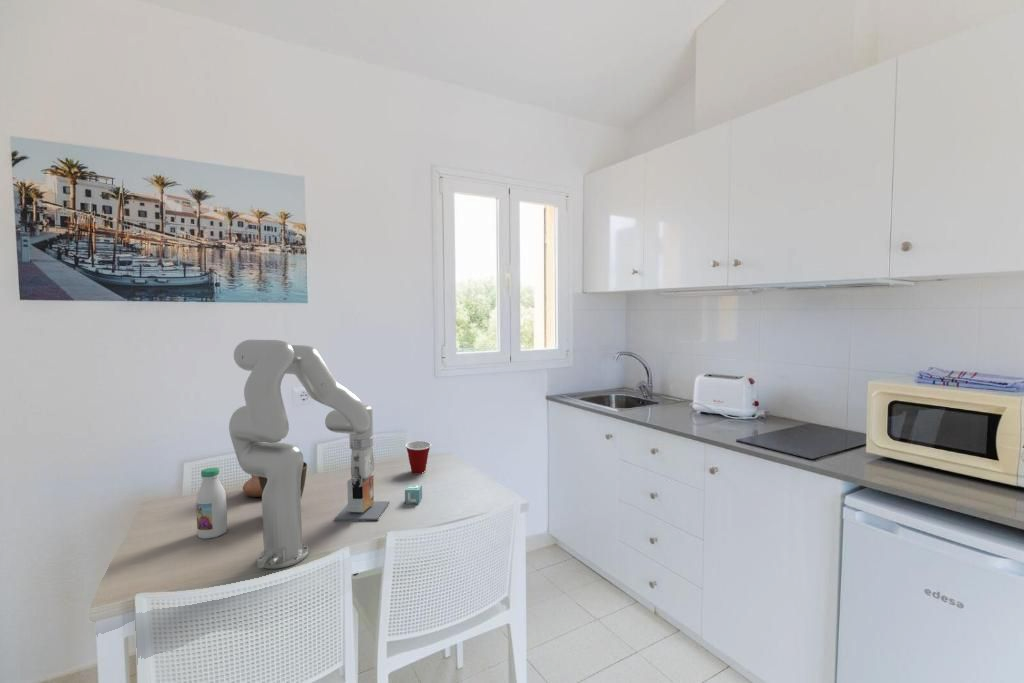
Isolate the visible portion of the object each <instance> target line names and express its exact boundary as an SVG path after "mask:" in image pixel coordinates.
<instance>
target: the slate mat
mask: <svg viewBox="0 0 1024 683" xmlns="http://www.w3.org/2000/svg"><path fill="white" fill-rule="evenodd" d="M389 503H390V501H386V500H385V501H381V500H380V501H379V500H378V501H376V500H374V504H373V505H372V506H370V507H369V508H368V509H367V510H365V511H364V512H348V503H347V504H346V505H345V506H344V508H342V510H341V511H340V512H339V513H338V514H337V515H336V516H335V518H334V521H335V522H350V521H349V520H378V519H379V520H380V518H381V517H382V515H383V514H384V512H385V511H386V510H385V509H387V508H388V507H389V505H390V504H389ZM388 504H389V505H388ZM387 506H388V507H387ZM386 507H387V508H386ZM384 510H385V511H384ZM383 511H384V512H383ZM382 513H383V514H382ZM381 514H382V515H381ZM380 516H381V517H380ZM379 517H380V518H379ZM379 520H378V521H379Z"/></svg>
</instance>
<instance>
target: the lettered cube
mask: <svg viewBox="0 0 1024 683" xmlns="http://www.w3.org/2000/svg"><path fill="white" fill-rule="evenodd" d="M421 499H423V485H422V484H407V486H406V488H405V489H404V504H405V503H419V504H420V503H421V501H422V500H421Z"/></svg>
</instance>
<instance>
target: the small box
mask: <svg viewBox="0 0 1024 683" xmlns="http://www.w3.org/2000/svg"><path fill="white" fill-rule="evenodd" d="M357 477H361V476H357ZM374 479H375V478H374V474H373V473H372V474H370V475H369V476H368V477H367V478H366V479H364V478H363V480H362V486H363V498H362V499H353V491H352V480H351V478H350V479H348V480H347V504H348V512H364V511H365V510H367V509H368V508H369V507H370V506H372V505H373V504H374V501H375V500H374V498H375V495H374V494H375V493H374V492H375V491H374V489H375V488H374ZM357 481H358V482H360V480H357Z"/></svg>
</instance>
